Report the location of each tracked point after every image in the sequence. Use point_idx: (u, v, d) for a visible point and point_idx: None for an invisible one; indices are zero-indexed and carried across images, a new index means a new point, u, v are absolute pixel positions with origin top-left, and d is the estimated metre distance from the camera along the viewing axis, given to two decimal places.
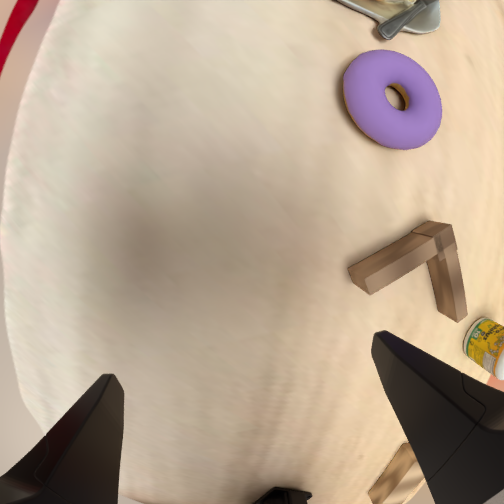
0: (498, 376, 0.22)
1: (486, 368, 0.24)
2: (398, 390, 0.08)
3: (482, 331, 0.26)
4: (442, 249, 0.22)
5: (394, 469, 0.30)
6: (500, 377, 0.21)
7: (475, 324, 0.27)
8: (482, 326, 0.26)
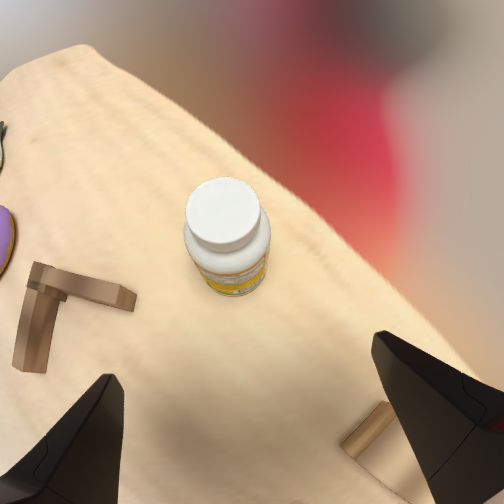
0: (228, 269, 0.17)
1: (230, 281, 0.19)
2: (398, 390, 0.08)
3: None
4: (39, 283, 0.21)
5: None
6: (232, 266, 0.17)
7: None
8: None
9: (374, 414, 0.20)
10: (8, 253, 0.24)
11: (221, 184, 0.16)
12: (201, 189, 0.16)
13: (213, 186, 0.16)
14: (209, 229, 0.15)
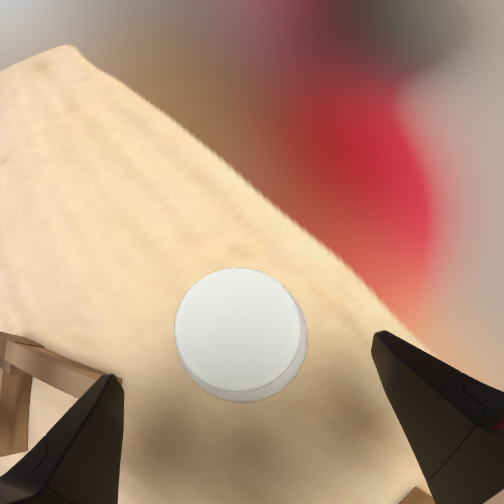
0: (246, 400, 0.11)
1: None
2: (398, 390, 0.08)
3: None
4: (3, 360, 0.14)
5: None
6: (251, 397, 0.10)
7: None
8: None
9: (406, 503, 0.13)
10: None
11: (234, 282, 0.10)
12: (200, 291, 0.09)
13: (220, 285, 0.10)
14: (217, 367, 0.09)
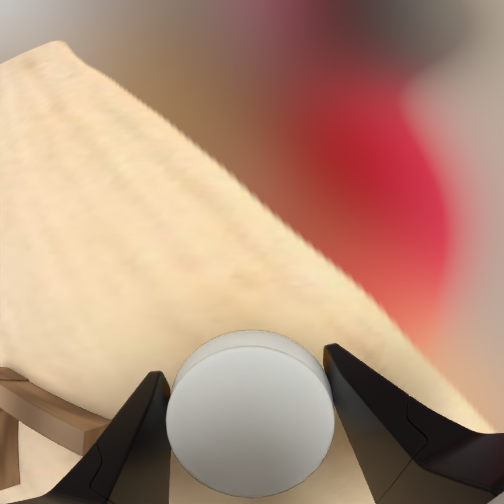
0: None
1: None
2: (345, 407, 0.08)
3: None
4: None
5: None
6: None
7: None
8: None
9: None
10: None
11: (245, 368, 0.07)
12: (198, 379, 0.06)
13: (225, 372, 0.06)
14: (224, 473, 0.06)
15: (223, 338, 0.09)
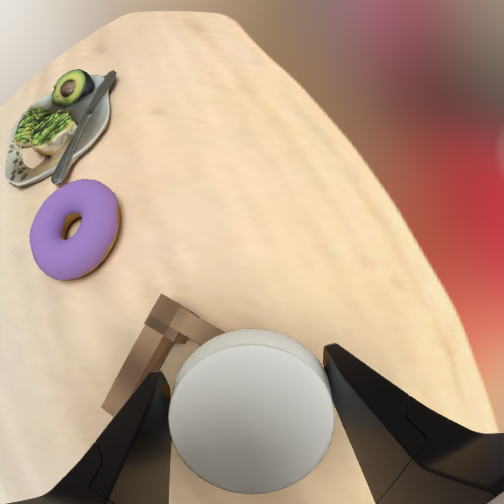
0: None
1: None
2: (345, 407, 0.08)
3: None
4: (167, 326, 0.19)
5: None
6: None
7: None
8: None
9: None
10: (107, 253, 0.24)
11: (247, 366, 0.07)
12: (200, 377, 0.07)
13: (228, 370, 0.07)
14: (226, 470, 0.06)
15: (224, 337, 0.09)
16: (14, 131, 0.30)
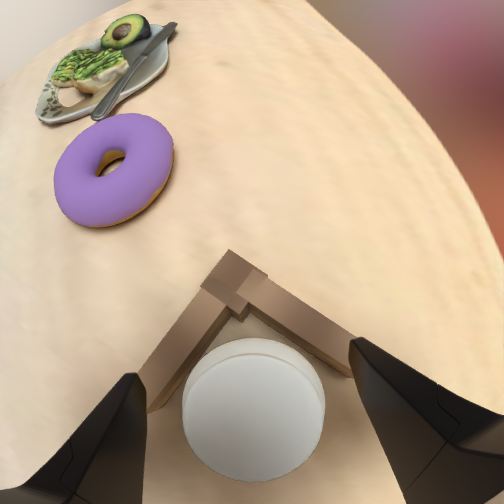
0: None
1: None
2: (372, 399, 0.08)
3: None
4: (232, 293, 0.15)
5: None
6: None
7: None
8: None
9: None
10: (152, 199, 0.19)
11: (248, 373, 0.08)
12: (209, 383, 0.08)
13: (232, 376, 0.08)
14: (232, 461, 0.07)
15: (227, 346, 0.10)
16: (53, 71, 0.27)
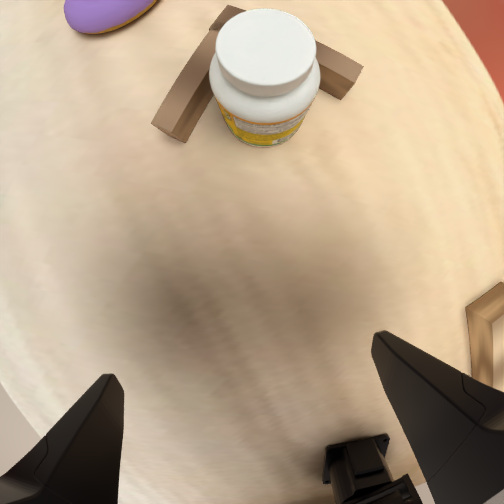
0: (278, 117, 0.13)
1: (274, 130, 0.15)
2: (398, 390, 0.08)
3: None
4: None
5: (478, 349, 0.20)
6: (282, 112, 0.12)
7: None
8: None
9: (496, 290, 0.20)
10: None
11: (258, 16, 0.09)
12: (232, 24, 0.09)
13: (247, 19, 0.09)
14: (255, 69, 0.10)
15: None
16: None
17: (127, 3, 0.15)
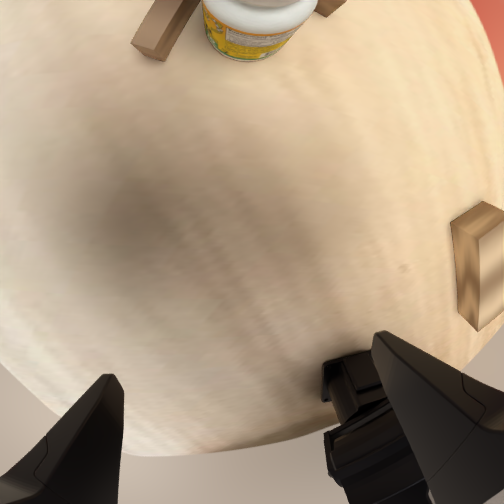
0: (277, 28, 0.10)
1: (268, 42, 0.12)
2: (398, 390, 0.08)
3: (206, 28, 0.13)
4: None
5: (464, 264, 0.23)
6: (282, 23, 0.10)
7: (206, 32, 0.15)
8: (204, 23, 0.14)
9: (479, 208, 0.22)
10: None
11: None
12: None
13: None
14: None
15: None
16: None
17: None
